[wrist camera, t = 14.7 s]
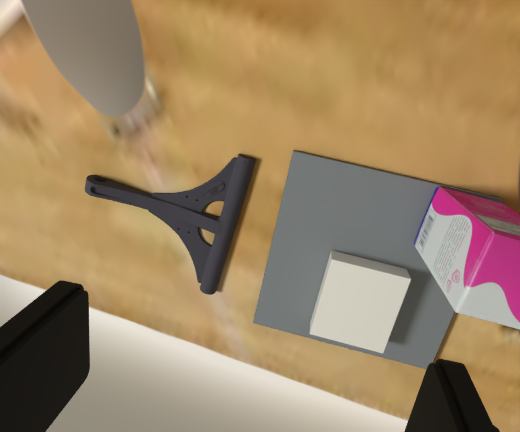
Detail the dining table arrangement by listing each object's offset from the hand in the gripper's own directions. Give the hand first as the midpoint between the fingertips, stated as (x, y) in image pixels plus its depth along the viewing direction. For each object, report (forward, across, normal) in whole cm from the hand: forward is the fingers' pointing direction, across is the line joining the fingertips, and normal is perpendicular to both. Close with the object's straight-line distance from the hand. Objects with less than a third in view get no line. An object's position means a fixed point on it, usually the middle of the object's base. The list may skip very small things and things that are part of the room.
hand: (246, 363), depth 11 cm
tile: (+25, -8, +8) cm, 27 cm away
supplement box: (+26, -14, +3) cm, 30 cm away
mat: (+27, -8, +9) cm, 29 cm away
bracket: (+28, +12, +6) cm, 31 cm away
